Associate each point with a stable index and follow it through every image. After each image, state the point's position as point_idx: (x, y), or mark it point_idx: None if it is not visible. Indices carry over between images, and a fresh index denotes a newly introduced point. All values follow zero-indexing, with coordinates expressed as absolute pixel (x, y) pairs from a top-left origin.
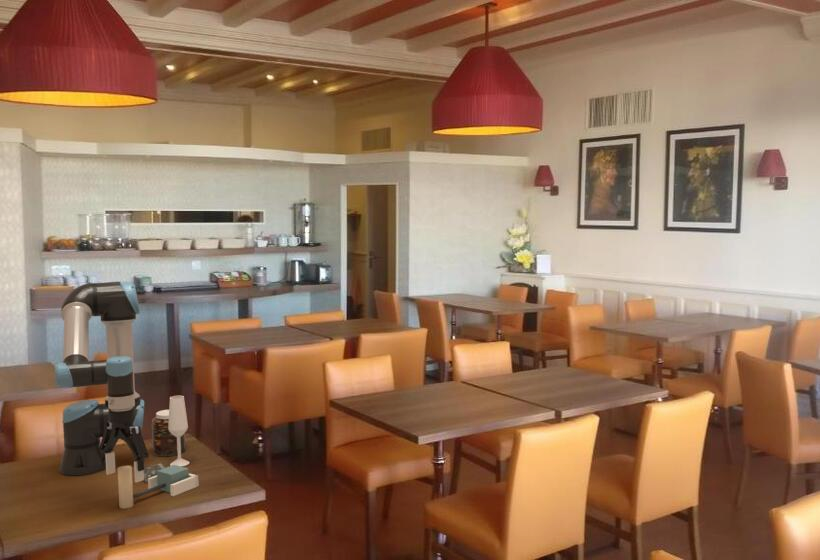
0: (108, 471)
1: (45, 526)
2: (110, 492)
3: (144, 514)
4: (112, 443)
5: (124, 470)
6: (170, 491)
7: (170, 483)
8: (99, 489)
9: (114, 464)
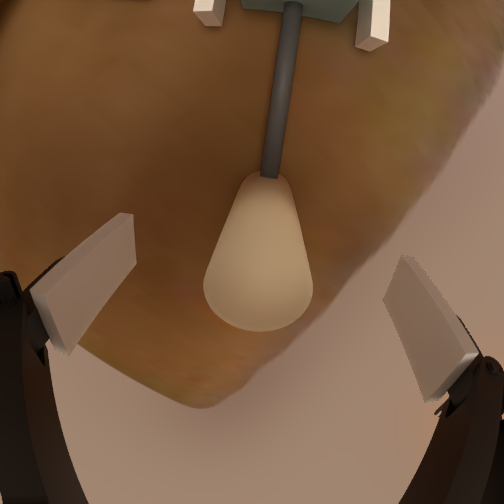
0: (127, 268)
1: (180, 364)
2: (101, 127)
3: (382, 232)
4: (56, 441)
5: (293, 319)
6: (360, 43)
7: (340, 8)
8: (57, 133)
9: (105, 241)
